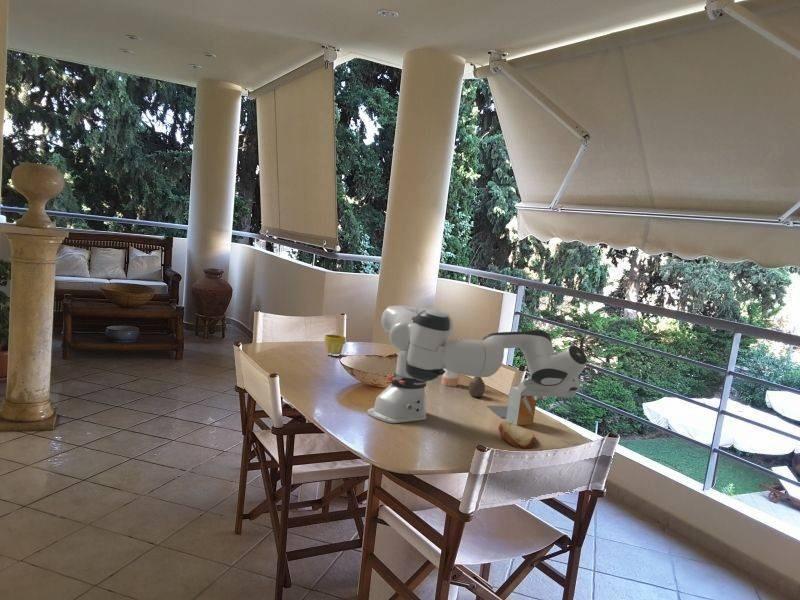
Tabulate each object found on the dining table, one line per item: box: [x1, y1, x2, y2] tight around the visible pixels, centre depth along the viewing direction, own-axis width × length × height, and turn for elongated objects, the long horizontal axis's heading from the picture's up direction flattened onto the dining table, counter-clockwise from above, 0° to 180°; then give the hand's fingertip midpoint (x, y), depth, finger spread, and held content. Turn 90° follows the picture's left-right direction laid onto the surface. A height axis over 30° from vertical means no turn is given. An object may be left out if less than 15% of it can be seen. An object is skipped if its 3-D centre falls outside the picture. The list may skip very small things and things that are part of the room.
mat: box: [486, 405, 508, 419], centre depth 231 cm, size 14×11×1 cm
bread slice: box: [498, 421, 537, 450], centre depth 203 cm, size 18×18×4 cm
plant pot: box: [324, 333, 347, 355], centre depth 297 cm, size 10×10×10 cm
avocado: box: [468, 376, 486, 398], centre depth 250 cm, size 7×7×9 cm
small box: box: [505, 386, 537, 426], centre depth 220 cm, size 8×6×13 cm
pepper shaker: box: [441, 368, 459, 387], centre depth 264 cm, size 7×7×19 cm
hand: (538, 398), depth 209 cm, fingers closed
